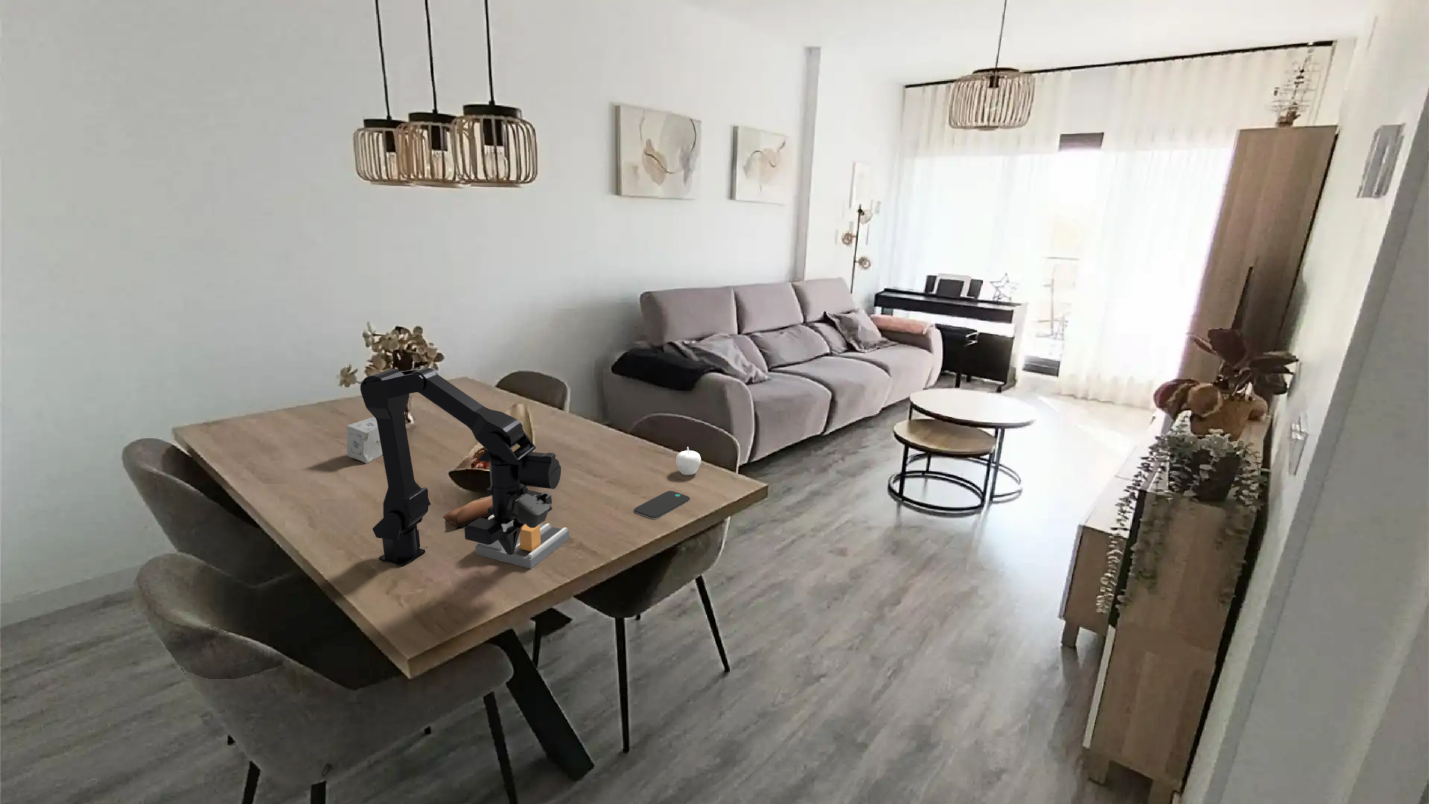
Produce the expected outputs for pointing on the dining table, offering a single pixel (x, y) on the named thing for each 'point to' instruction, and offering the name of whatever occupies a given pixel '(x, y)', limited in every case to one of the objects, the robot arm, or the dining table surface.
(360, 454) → the white printed carton
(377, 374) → the robot arm
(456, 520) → the sunglasses case
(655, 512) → the smartphone
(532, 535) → the slider knob
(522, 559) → the panel
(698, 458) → the plain white apple
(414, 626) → the dining table surface
